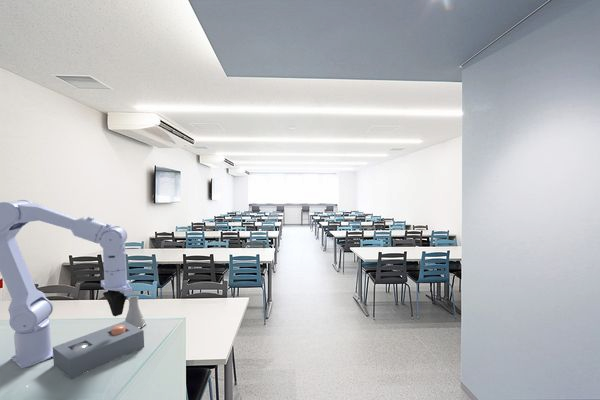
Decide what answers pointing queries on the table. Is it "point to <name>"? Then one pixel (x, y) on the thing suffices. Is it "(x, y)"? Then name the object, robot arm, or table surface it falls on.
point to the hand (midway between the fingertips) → (117, 314)
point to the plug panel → (97, 349)
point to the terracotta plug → (118, 330)
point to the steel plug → (80, 347)
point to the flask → (134, 313)
